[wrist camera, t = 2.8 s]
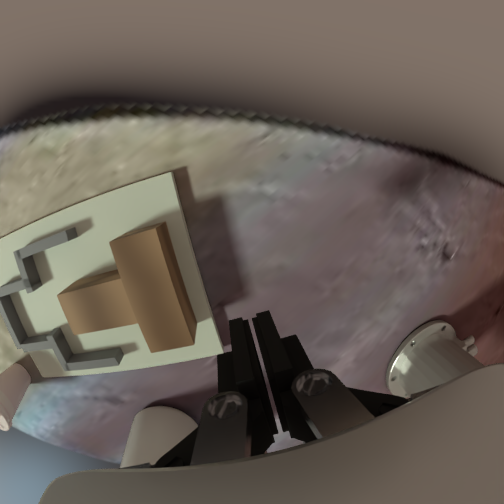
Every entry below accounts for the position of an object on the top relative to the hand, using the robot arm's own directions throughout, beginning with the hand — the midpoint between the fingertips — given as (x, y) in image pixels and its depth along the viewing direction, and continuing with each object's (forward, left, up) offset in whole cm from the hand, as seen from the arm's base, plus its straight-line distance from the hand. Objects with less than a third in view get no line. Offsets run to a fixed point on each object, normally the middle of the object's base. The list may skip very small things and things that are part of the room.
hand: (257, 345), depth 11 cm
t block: (+11, 0, -14) cm, 18 cm away
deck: (+16, 0, -16) cm, 22 cm away
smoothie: (+35, +9, -16) cm, 39 cm away
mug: (+15, +21, -16) cm, 30 cm away
